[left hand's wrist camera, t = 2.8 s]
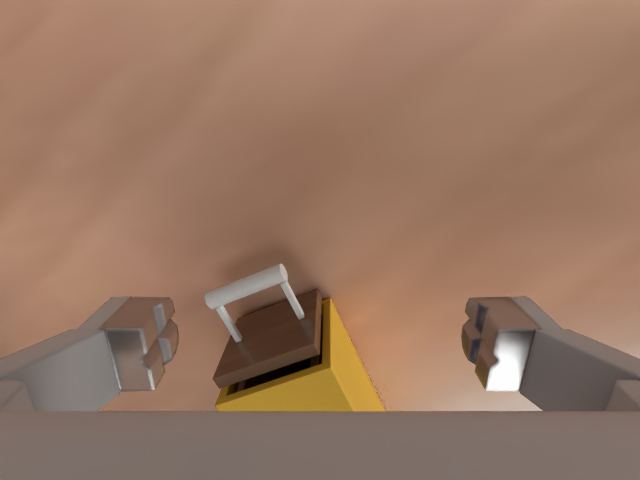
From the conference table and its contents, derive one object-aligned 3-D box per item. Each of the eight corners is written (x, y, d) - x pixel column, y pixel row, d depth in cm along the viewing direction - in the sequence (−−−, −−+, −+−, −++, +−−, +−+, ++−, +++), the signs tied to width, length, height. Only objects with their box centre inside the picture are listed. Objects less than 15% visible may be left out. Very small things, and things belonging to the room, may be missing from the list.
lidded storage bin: (243, 329, 41) (214, 406, 31) (330, 297, 39) (330, 367, 29) (313, 445, 47) (308, 541, 37) (390, 422, 45) (408, 515, 35)
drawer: (211, 274, 37) (176, 326, 29) (294, 241, 36) (283, 285, 27) (306, 433, 45) (301, 511, 37) (378, 411, 44) (390, 487, 35)
